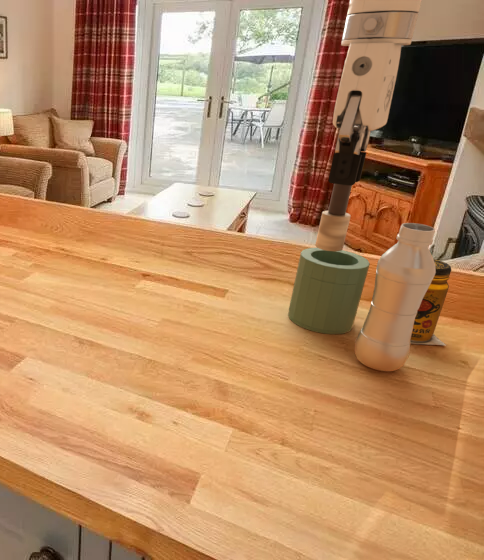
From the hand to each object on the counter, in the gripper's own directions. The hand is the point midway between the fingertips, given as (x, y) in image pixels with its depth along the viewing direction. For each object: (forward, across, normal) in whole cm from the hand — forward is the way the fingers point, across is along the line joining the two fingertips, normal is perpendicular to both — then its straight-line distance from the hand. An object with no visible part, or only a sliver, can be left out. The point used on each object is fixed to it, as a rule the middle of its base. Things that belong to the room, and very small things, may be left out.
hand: (344, 181), depth 67 cm
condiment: (+24, +11, -12) cm, 29 cm away
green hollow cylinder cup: (+24, +6, 0) cm, 25 cm away
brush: (+10, 0, 0) cm, 10 cm away
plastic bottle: (+24, -3, -10) cm, 26 cm away
